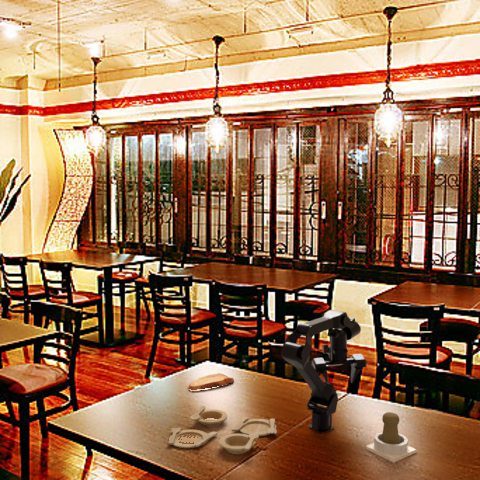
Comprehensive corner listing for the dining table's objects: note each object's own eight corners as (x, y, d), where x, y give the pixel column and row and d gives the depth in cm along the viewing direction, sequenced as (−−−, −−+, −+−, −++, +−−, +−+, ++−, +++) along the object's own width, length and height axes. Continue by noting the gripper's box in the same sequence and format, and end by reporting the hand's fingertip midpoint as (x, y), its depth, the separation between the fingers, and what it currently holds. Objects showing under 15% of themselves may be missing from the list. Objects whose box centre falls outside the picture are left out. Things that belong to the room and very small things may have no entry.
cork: (400, 452, 173) (401, 418, 172) (380, 450, 175) (381, 416, 174) (399, 444, 179) (400, 410, 178) (379, 442, 180) (380, 409, 179)
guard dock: (393, 462, 169) (393, 449, 169) (365, 448, 178) (365, 436, 178) (416, 452, 176) (416, 440, 175) (388, 439, 184) (388, 428, 184)
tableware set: (284, 425, 197) (285, 414, 197) (260, 463, 170) (260, 450, 169) (193, 412, 208) (193, 402, 208) (157, 446, 181) (157, 434, 181)
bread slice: (185, 392, 229) (185, 383, 229) (195, 377, 247) (195, 369, 247) (229, 394, 227) (229, 385, 227) (235, 379, 245) (235, 371, 244)
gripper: (357, 332, 207) (357, 371, 211) (308, 337, 206) (309, 376, 210) (367, 345, 196) (367, 385, 200) (314, 351, 195) (316, 391, 199)
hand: (339, 384), depth 203 cm, fingers open, 9 cm apart
